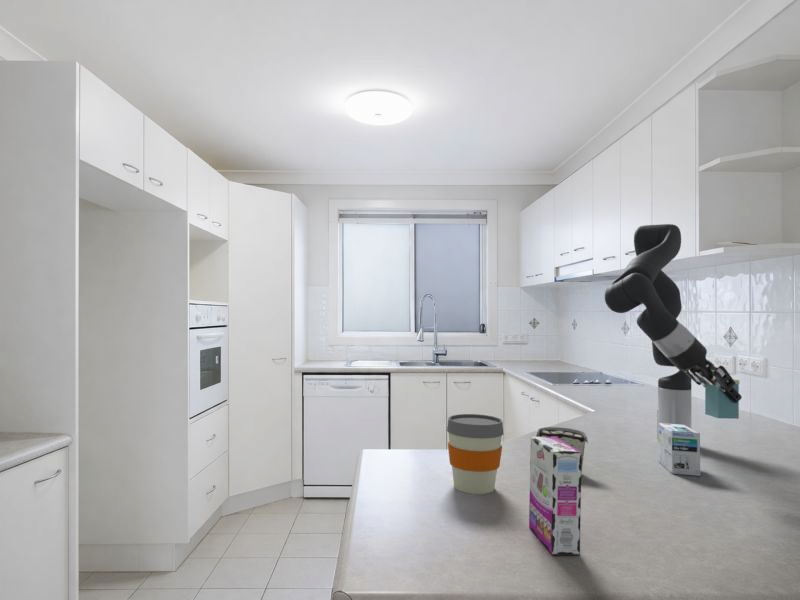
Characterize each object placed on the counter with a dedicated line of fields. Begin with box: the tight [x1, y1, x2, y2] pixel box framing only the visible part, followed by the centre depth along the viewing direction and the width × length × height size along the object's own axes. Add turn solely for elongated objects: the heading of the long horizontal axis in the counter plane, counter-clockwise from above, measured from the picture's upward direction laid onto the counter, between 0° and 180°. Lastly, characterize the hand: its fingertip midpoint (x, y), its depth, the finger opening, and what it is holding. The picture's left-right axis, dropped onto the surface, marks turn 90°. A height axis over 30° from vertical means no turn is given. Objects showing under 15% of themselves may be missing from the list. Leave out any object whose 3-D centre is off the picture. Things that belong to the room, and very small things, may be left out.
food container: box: [535, 426, 589, 474], centre depth 124 cm, size 12×6×10 cm, turn 65°
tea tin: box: [704, 377, 740, 420], centre depth 112 cm, size 5×5×9 cm
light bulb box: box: [658, 423, 701, 477], centre depth 126 cm, size 11×7×11 cm, turn 168°
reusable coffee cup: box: [446, 413, 504, 495], centre depth 109 cm, size 13×13×15 cm
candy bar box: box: [528, 436, 582, 556], centre depth 83 cm, size 11×5×16 cm, turn 5°
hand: (729, 398), depth 112 cm, fingers closed on tea tin, 4 cm apart
